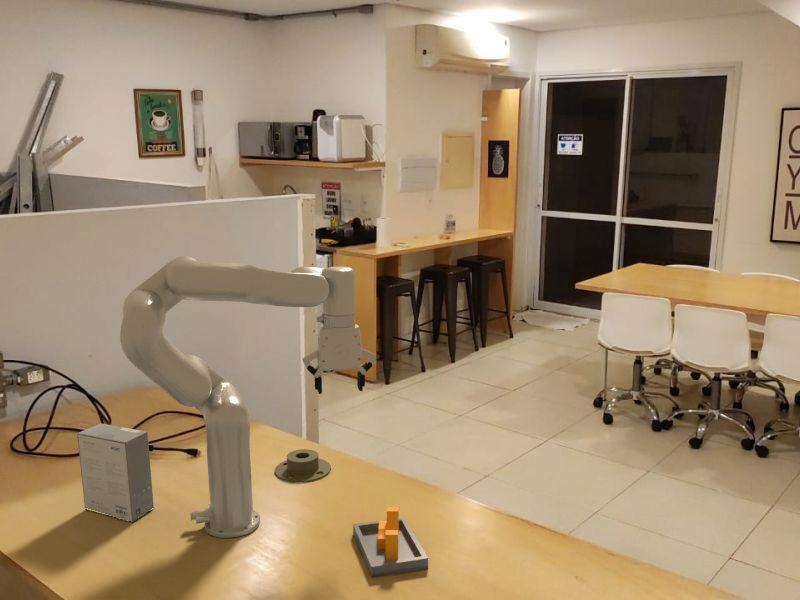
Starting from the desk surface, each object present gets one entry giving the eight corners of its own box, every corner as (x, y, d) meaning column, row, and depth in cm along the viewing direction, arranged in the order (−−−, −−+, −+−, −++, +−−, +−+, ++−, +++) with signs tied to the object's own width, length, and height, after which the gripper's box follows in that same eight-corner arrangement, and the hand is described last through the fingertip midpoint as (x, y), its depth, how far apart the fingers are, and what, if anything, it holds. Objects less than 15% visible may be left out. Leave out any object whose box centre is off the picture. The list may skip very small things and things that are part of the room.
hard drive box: (155, 509, 182) (149, 431, 177) (132, 523, 175) (125, 443, 171) (107, 497, 188) (100, 422, 184) (83, 510, 181) (75, 432, 177)
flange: (297, 440, 212) (262, 460, 199) (341, 451, 205) (308, 471, 192) (297, 456, 213) (263, 476, 200) (341, 467, 206) (309, 488, 193)
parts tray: (371, 578, 152) (371, 566, 152) (353, 534, 169) (353, 524, 169) (428, 568, 156) (428, 558, 155) (404, 527, 173) (404, 517, 172)
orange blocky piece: (379, 533, 168) (379, 507, 167) (398, 533, 168) (398, 507, 167) (377, 563, 156) (376, 534, 155) (398, 563, 156) (397, 534, 155)
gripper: (303, 325, 168) (305, 398, 172) (379, 322, 172) (379, 393, 175) (300, 318, 175) (301, 388, 179) (372, 315, 179) (372, 383, 183)
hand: (339, 390), depth 177 cm, fingers open, 9 cm apart
